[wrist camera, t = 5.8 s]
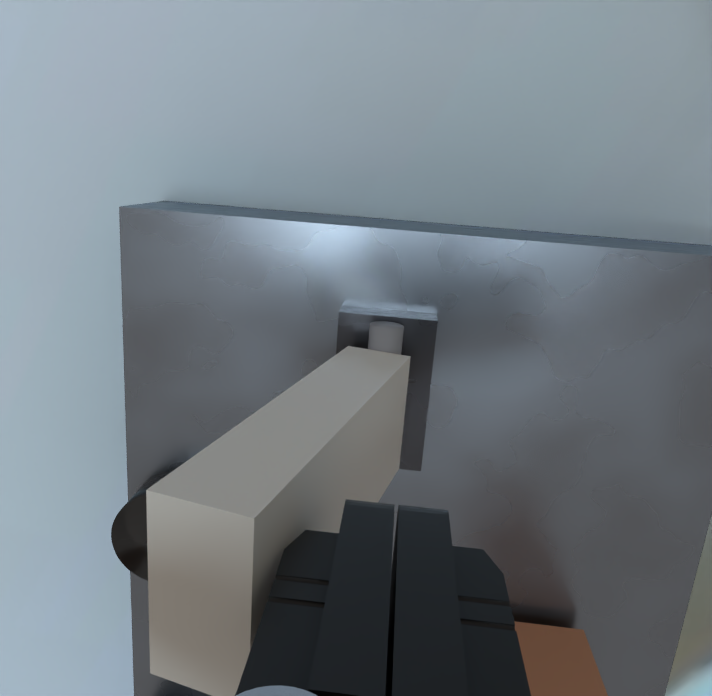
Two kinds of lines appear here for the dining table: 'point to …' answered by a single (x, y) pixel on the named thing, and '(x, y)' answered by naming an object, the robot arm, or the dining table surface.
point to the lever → (266, 506)
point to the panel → (451, 396)
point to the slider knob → (558, 661)
